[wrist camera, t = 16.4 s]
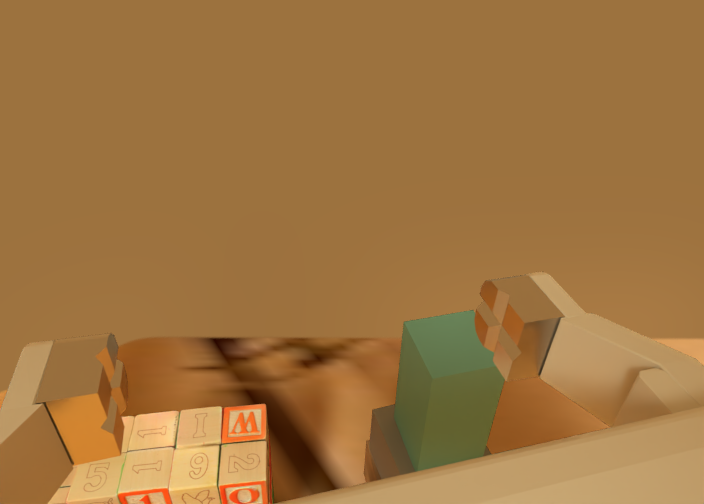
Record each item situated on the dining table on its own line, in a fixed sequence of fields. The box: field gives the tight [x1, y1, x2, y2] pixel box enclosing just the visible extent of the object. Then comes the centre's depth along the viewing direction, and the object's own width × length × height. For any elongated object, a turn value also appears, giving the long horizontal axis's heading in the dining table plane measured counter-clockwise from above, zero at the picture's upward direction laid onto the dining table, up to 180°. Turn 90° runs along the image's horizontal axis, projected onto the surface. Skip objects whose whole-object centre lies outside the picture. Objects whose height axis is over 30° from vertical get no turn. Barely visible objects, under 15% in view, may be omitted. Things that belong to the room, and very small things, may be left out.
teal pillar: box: [394, 310, 505, 472], centre depth 35 cm, size 5×5×10 cm
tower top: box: [369, 404, 491, 479], centre depth 40 cm, size 7×7×5 cm
